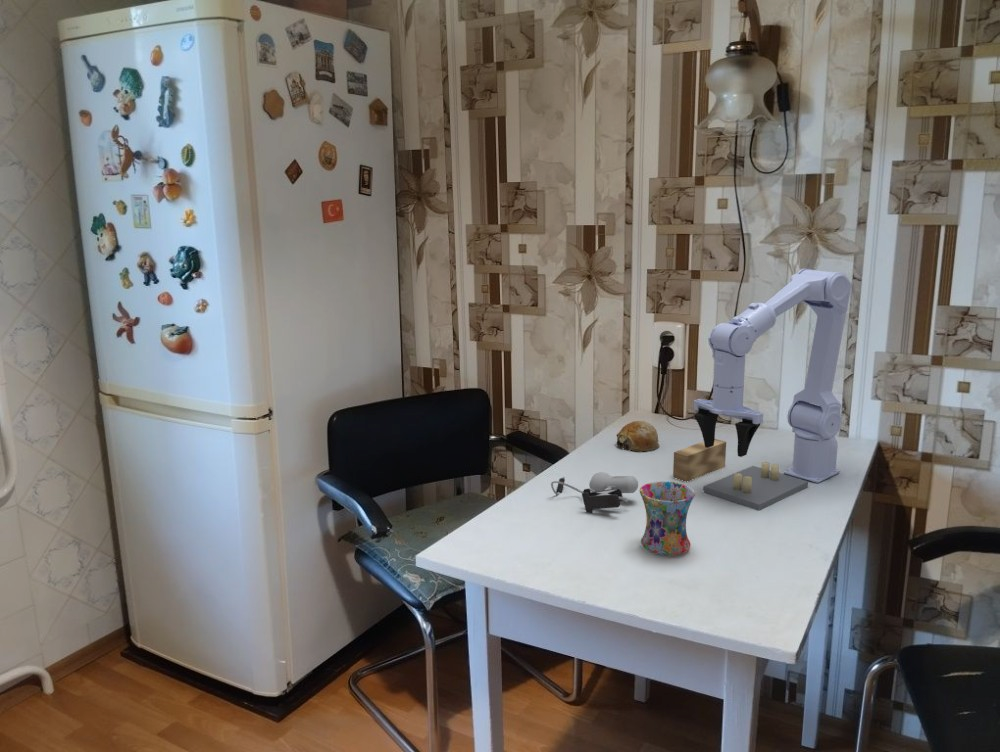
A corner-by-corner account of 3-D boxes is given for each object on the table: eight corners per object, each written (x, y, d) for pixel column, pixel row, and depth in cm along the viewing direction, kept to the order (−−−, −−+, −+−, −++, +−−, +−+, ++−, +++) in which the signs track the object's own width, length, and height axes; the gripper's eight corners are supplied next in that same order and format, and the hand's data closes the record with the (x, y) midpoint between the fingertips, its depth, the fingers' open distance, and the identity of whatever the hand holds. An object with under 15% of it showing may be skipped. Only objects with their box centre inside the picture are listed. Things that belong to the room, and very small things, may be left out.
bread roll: (654, 467, 189) (669, 437, 187) (615, 450, 188) (630, 420, 186) (647, 453, 199) (662, 425, 197) (610, 437, 198) (624, 408, 196)
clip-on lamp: (542, 515, 162) (619, 516, 150) (534, 486, 161) (611, 485, 149) (571, 491, 171) (646, 491, 159) (564, 464, 169) (639, 461, 158)
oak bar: (711, 463, 181) (712, 438, 179) (724, 467, 178) (726, 441, 177) (673, 478, 172) (673, 452, 170) (686, 483, 169) (687, 456, 168)
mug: (688, 563, 133) (691, 504, 131) (633, 555, 136) (634, 497, 134) (697, 534, 144) (700, 479, 142) (646, 527, 147) (647, 473, 145)
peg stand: (752, 470, 175) (753, 452, 174) (807, 486, 165) (809, 467, 164) (703, 491, 164) (703, 472, 163) (758, 510, 154) (760, 490, 153)
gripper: (685, 382, 158) (683, 446, 161) (749, 395, 147) (746, 464, 151) (706, 376, 163) (704, 439, 166) (770, 388, 152) (766, 455, 155)
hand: (725, 450), depth 159 cm, fingers open, 7 cm apart
